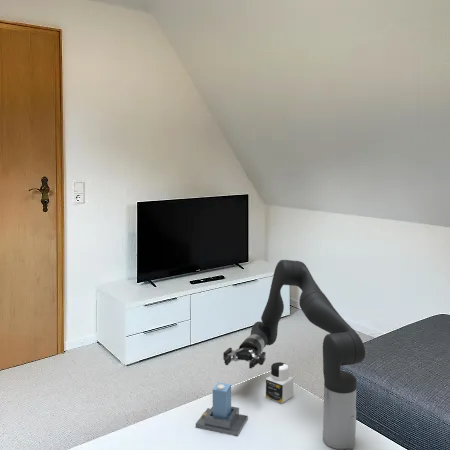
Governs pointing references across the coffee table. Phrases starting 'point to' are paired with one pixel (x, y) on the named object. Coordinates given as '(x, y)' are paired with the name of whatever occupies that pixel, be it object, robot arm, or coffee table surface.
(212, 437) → the coffee table surface
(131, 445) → the coffee table surface
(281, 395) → the medicine bottle
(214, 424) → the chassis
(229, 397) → the blue tall box
